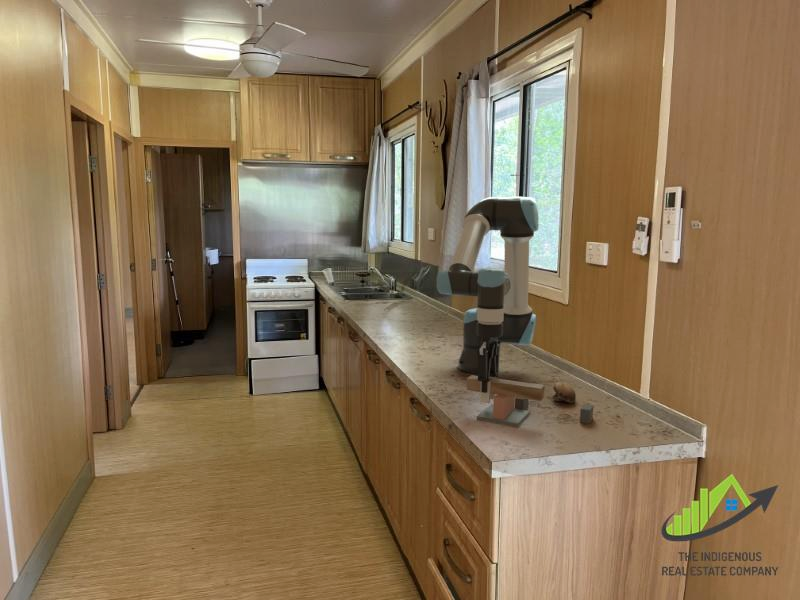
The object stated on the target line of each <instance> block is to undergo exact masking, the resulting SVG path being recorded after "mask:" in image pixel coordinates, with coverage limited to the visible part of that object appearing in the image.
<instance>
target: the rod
mask: <svg viewBox="0 0 800 600" xmlns="http://www.w3.org/2000/svg"><path fill="white" fill-rule="evenodd" d="M489 381H491V383H490V394H495V395H504V396H510V397H515V398H516V397H517V398H524V399H528V400H531V401H539V402H541V401H542V400H544V399H545V391H546V389H545V387H546V385H545V384H541V383H540V384H539V383H531V382H525V381H524V382H523V381H516V380H509V379H503V378H502V379H501V378H497V377H495V378H489ZM466 391H471V392H479V393H481V381H478V375H473V374H472V375H470V376H468V377H467V378H466Z"/></svg>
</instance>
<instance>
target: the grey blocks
mask: <svg viewBox="0 0 800 600" xmlns="http://www.w3.org/2000/svg"><path fill="white" fill-rule="evenodd" d="M514 408H516V409H522V410H527V409H528V408H529V399H524V398H517V397H515V402H514ZM579 414H580V415H579V423H583V424H588V425H589V424H591V422H592V421H593V418H594V404H589V403H583V404H582V406H581V408H580V413H579Z"/></svg>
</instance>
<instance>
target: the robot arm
mask: <svg viewBox="0 0 800 600" xmlns="http://www.w3.org/2000/svg"><path fill="white" fill-rule="evenodd" d="M539 221H540V219H539V212H538V205H537V202H536V199H534V198H533V197H528V196H527V197H526V196H508V197H507V196H504V197H503V196H501V197H497V196H494V197H493V196H492V197H491V196H490V197H487V198H484V199H482V200H480V201H479V202H477V203H476V204H474V205H473V206H472V207H471V208H470V209H469V210H468V211H467V213H466V214H465V216H464V218H463V220H462V232H461V235H460V237H459V240H458V243H457V246H456V249H455V251H454V253H453V256H452V260H451V262H450V264H449V268H448V269H445V270H440V271H439V272H438V273H437V277H436V288H437V292H438V293H439V294H441V295H448V296H465V297H477V307H476V308H475V307H474V308H470V309H468V310H466V311H465V312H464V315H463V321H462V323H463V340H462V341H463V342H462V343H463V345H462V346H463V347H462V350H461V353H460V357H459V359H458V363H457V367H458V369H459V370H460V371H462V370H463V371H462V372H465V371H466V373H470V374H477V376H478V381H481V392H479V393H480V394H479V395H480V396H479V397H480V398H479V401H480V403H483V404H488V405H489V404H490V403H491V400H493V401H494V397H495V396H496V394H490V383H491V381H489V378H499V377H500V374H499V372H500V371H499V369H500V352H501V351H500V350H501V349H500V348H501V344H502V345H503V344H504V345H515V346H528V345H530V344H531V343H532V341H533V338H534V335H535V329H536V324H537V315H536V314H534V313H533V308H532V307H531V306H530V305H529V274H530V273H529V272H530V271H529V269H530V262H529V261H530V240H532V238H533V237H534V236H535V235H534V234H535V232H537V231H538V230H539ZM490 231H499V232H500V235H499V236H500V237H501V238H502V239H503V240H504V269H503V268H500V267H499V268H497V267H485V268H480V269H478V271H474V268H475V265H476V262H477V259H478V256H479V254H480V249H481V247H482V244H483V241H484V238H485V236H486V235H488V233H489V232H490Z"/></svg>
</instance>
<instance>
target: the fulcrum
mask: <svg viewBox="0 0 800 600" xmlns="http://www.w3.org/2000/svg"><path fill="white" fill-rule="evenodd" d="M515 398H516V397H510V396H504V395H497V394H495V397H494V400H493V404H492V403H491V404H490V405H489V406H488V407H486V408H485V409H484V410H482V411H481V412H480V413H479V414H478V415H477V416H476V420H478V421H483V422H487V423H493V424H498V425H504V426H508V427H509V426H510V427H514V428H519V426H520V425H521V424H522V423H523V422H524V421H525V420H526V419H527V418H528V417H529V416H530V415H531V410H527V409H526V410H522V409H516V408H515Z"/></svg>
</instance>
